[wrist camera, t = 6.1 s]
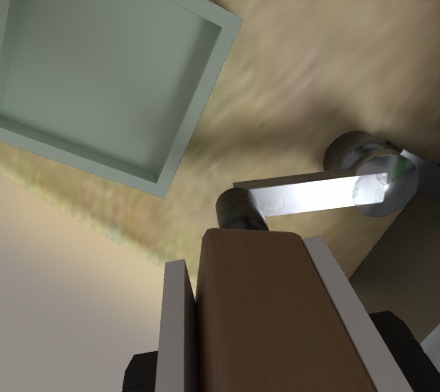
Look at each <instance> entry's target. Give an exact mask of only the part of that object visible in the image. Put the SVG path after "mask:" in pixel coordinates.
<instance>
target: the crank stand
mask: <svg viewBox="0 0 440 392" xmlns="http://www.w3.org/2000/svg"><path fill="white" fill-rule="evenodd" d="M376 149H392V150H395V151H397V152H398V153H400V154H402V155H403V156H405V157H406V158H408V159H410V160H411V161H412V162H413V163H414V164H415V165H416V167H417V169H418V173H419V183H418V187H417V190H418V191H417V193H416V194H415V195H414V196H413V198H412V199H411V200H410V202H409V203H408V204H407V205H406V207H405V208H404V209H403V211H402V212H401V213H400V214H399V216H398V217H397V218H396V220H395V221H394V222H393V223H392V225H391V226H390V227H389V229H388V230H387V231H386V232H385V234H384V235H383V236H382V238H381V239H380V240H379V241H378V243H377V244H376V245H375V246H374V248H373V249H372V250H371V252H370V253H369V254H368V255H367V257H366V258H365V259H364V261H363V262H362V263H361V264H360V266H359V267H358V268H357V270H356V271H355V272H354V273H353V275H352V276H351V277H350V279H349V280H348V281H349V283H350V285H351V286H352V288H353V290H354V291H355V293H356V295H357V297H358V298H359V300H360V302H361V303H362V305H363V307H364V308H365V310H366V312H367V314H370V313H376V312H382V311H388V310H390V311H391V312H392V313H393V314H395V315H396V316H397V317H399V318H400V319H401V320H402V321H404V322H405V324H406V325H407V326H408V328H409V329H410V331H411V332H412V334H413V335H414V337H415V340H417V341H418V342H419V344H420V345H421V347H422V348H423V351H424V353H426V354H427V356H428V357H429V358H430V360H431V361H432V363H433V364H434V366H435V367H436V369H437V370H438V371H439V373H440V163H439V164H438V165H437V164H435V163H433V162H431V161H429V160H427V159H425V158H423V157H421V156H419V155H417V154H415V153H413V152H411V151H408V150H406V149H404V148H402V147H400V146H398V145H396V144H394V143H392V142H390V141H388V140H387V142H386V143H385V144H384V143H383V142H381V141H380V140H378V139H376V138H375V137H373V136H372V135H370V134H368V133H366V132H362V131H353V132H348V133H346V134H343V135H342V136H340V137H338V138H337V139H336V140H335V141H334V142H333V143H332V144H331V145H330V146H329V148H328V149H327V151H326V154H325V157H324V170H325V171H333V170H342V169H350V167H351V166H352V164H353V163H354V162H355V161H356V160H357V159H358V158H360V157H361V156H363V155H364V154H366V153H368V152H370V151H373V150H376Z"/></svg>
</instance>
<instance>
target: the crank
mask: <svg viewBox="0 0 440 392" xmlns="http://www.w3.org/2000/svg"><path fill="white" fill-rule="evenodd" d="M418 183H419V173H418V169H417V167H416V165H415V164H414V163H413V162H412V161H411V160H410V159H408V158H406V157H405V156H403V155H402V154H400V153H398V152H397V151H395V150H392V149H376V150H373V151H370V152H368V153H366V154H364V155H363V156H361V157H360V158H358V159H357V160H356V161H355V162H354V163H353V164H352V166H351V167H350V169H342V170H333V171H325V172H317V173H309V174H300V175H292V176H284V177H276V178H268V179H259V180H251V181H243V182H235V183H233V188H231V189H228V190H226V191H225V192H223V193H222V194H221V195H220V196H219V198H218V200H217V202H216V213H217V219H218V224H219V228H224V229H243V230H261V231H269V229H268V226H267V224H266V221H265V219H264V217H268V216H276V215H283V214H291V213H299V212H307V211H315V210H323V209H331V208H339V207H346V206H355V207H356V208H357V209H358V210H359V211H360V212H361V213H363V214H365V215H367V216H371V217H381V216H386V215H389V214H392V213H394V212H396V211H398V210H399V209H401V208H402V207H403V206H405V205H406V204H407V203H408V202H409V201H410V199H411V198H412V197H413V195H414V193H415V192H416V189H417V187H418Z"/></svg>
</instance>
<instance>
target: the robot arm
mask: <svg viewBox="0 0 440 392" xmlns="http://www.w3.org/2000/svg"><path fill="white" fill-rule="evenodd" d="M303 242H304V244H305V246H306V248H307V251H308V253H309V255H310V257H311V259H312V261H313V263H314V265H315V267H316V269H317V271H318V273H319V275H320V277H321V279H322V281H323V283H324V285H325V287H326V289H327V291H328V293H329V295H330V297H331V299H332V301H333V303H334V305H335V307H336V309H337V311H338V313H339V315H340V317H341V319H342V321H343V323H344V325H345V327H346V329H347V332H348V334H349V336H350V338H351V340H352V342H353V344H354V346H355V348H356V350H357V352H358V354H359V356H360V358H361V360H362V362H363V364H364V366H365V368H366V370H367V372H368V374H369V376H370V378H371V380H372V382H373V384H374V386H375V388H376V390H377V392H440V373H439V371H438V370H437V369H436V367H435V366H434V364H433V363H432V361H431V360H430V358H429V357H428V356H427V354H426V353H424V351H423V348H422V347H421V345H420V344H419V342H418V341H417V340H415V337H414V335H413V334H412V332H411V331H410V329H409V328H408V326H407V325H406V324H405V322H404V321H402V320H401V319H400V318H399V317H397V316H396V315H395V314H393V313H392V312H391V311H390V310H388V311H382V312H376V313H370V314H367V312H366V310H365V308H364V307H363V305H362V303H361V302H360V300H359V298H358V297H357V295H356V293H355V291H354V290H353V288H352V286H351V285H350V283H349V281H348V280H347V278H346V276H345V274H344V273H343V271H342V269H341V268H340V266H339V264H338V263H337V261H336V259H335V257H334V256H333V254H332V252H331V251H330V249H329V247H328V245H327V244H326V242H325V240H324V239H323V237H322V236H318V237H312V238H306V239H303ZM122 389H123V391H122V392H198V365H197V333H196V303H195V299H194V295H193V291H192V287H191V283H190V279H189V275H188V271H187V267H186V263H185V259H182V260H177V261H171V262H165V274H164V286H163V299H162V311H161V323H160V337H159V348H158V351H153V352H148V353H142V354H136V355H134V356H133V358H132V360H131V361H130V363H129V365H128V367H127V369H126V370H125V375H124V381H123V387H122Z"/></svg>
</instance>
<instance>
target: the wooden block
mask: <svg viewBox="0 0 440 392" xmlns="http://www.w3.org/2000/svg"><path fill="white" fill-rule="evenodd" d="M195 303H196V333H197V365H198V392H377V390H376V388H375V386H374V384H373V382H372V380H371V378H370V376H369V374H368V372H367V370H366V368H365V366H364V364H363V362H362V360H361V358H360V356H359V354H358V352H357V350H356V348H355V346H354V344H353V342H352V340H351V338H350V336H349V334H348V332H347V329H346V327H345V325H344V323H343V321H342V319H341V317H340V315H339V313H338V311H337V309H336V307H335V305H334V303H333V301H332V299H331V297H330V295H329V293H328V291H327V289H326V287H325V285H324V283H323V281H322V279H321V277H320V275H319V273H318V271H317V269H316V267H315V265H314V263H313V261H312V259H311V257H310V255H309V253H308V251H307V248H306V246H305V244H304V242H303V240H302V238H301V236H299V235H298V234H296V233H293V232H280V231H261V230H243V229H224V228H211V229H207V231H206V233H205V234H204V236H203V238H202V246H201V254H200V263H199V271H198V280H197V288H196V296H195Z"/></svg>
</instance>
